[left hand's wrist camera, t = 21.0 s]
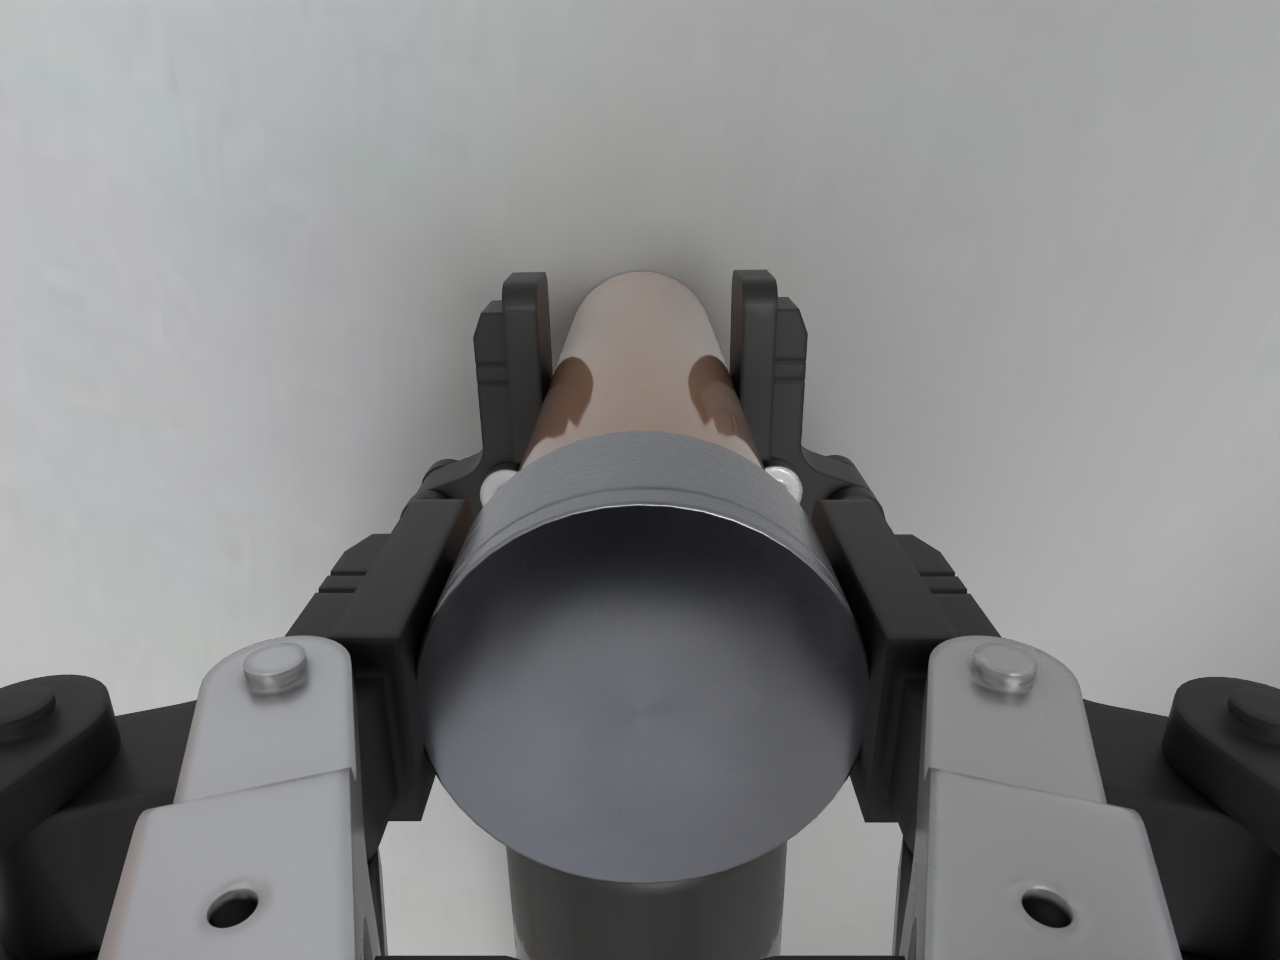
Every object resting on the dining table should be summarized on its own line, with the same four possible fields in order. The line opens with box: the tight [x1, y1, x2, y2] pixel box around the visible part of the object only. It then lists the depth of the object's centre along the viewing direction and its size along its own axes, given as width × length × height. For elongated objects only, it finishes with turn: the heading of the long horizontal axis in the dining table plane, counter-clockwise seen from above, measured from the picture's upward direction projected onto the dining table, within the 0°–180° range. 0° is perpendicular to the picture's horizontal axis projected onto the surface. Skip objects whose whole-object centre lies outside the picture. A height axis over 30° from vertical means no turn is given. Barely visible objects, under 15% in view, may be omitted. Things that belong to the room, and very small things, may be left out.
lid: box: [416, 431, 870, 884], centre depth 10 cm, size 5×5×2 cm
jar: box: [518, 271, 766, 472], centre depth 17 cm, size 4×4×16 cm
